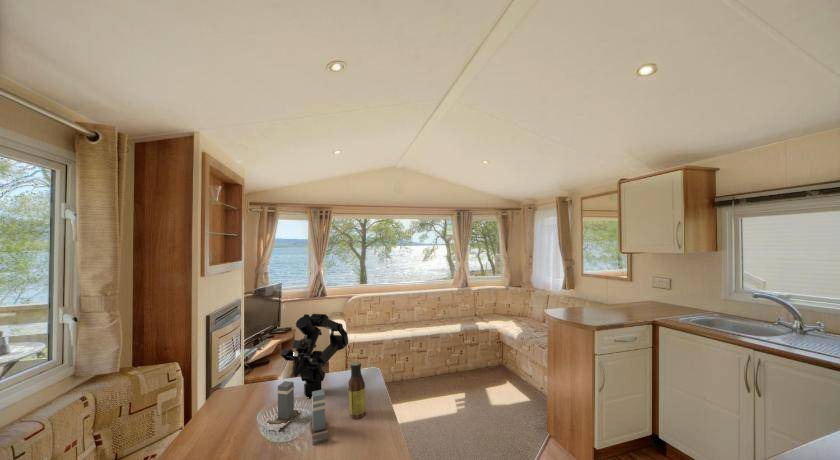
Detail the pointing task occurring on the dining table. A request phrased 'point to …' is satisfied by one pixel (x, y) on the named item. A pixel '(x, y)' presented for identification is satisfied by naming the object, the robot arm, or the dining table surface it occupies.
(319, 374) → the robot arm
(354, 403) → the sauce bottle
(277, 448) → the dining table surface
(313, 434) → the rail
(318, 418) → the two stripe post
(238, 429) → the dining table surface
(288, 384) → the one stripe post
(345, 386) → the dining table surface
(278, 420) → the rail
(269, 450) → the dining table surface
